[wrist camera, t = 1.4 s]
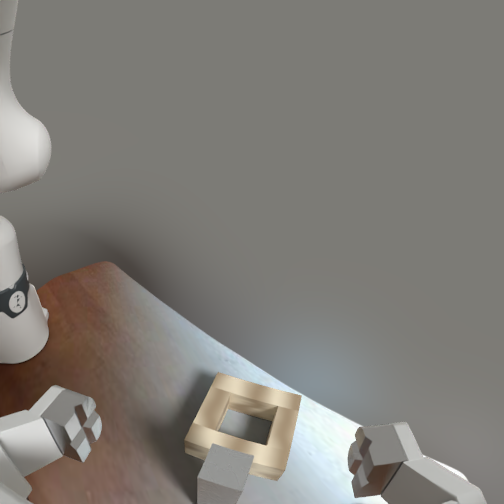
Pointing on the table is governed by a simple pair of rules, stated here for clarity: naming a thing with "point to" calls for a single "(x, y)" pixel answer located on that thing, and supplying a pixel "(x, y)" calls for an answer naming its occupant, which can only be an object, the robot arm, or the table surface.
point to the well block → (251, 403)
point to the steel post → (223, 476)
